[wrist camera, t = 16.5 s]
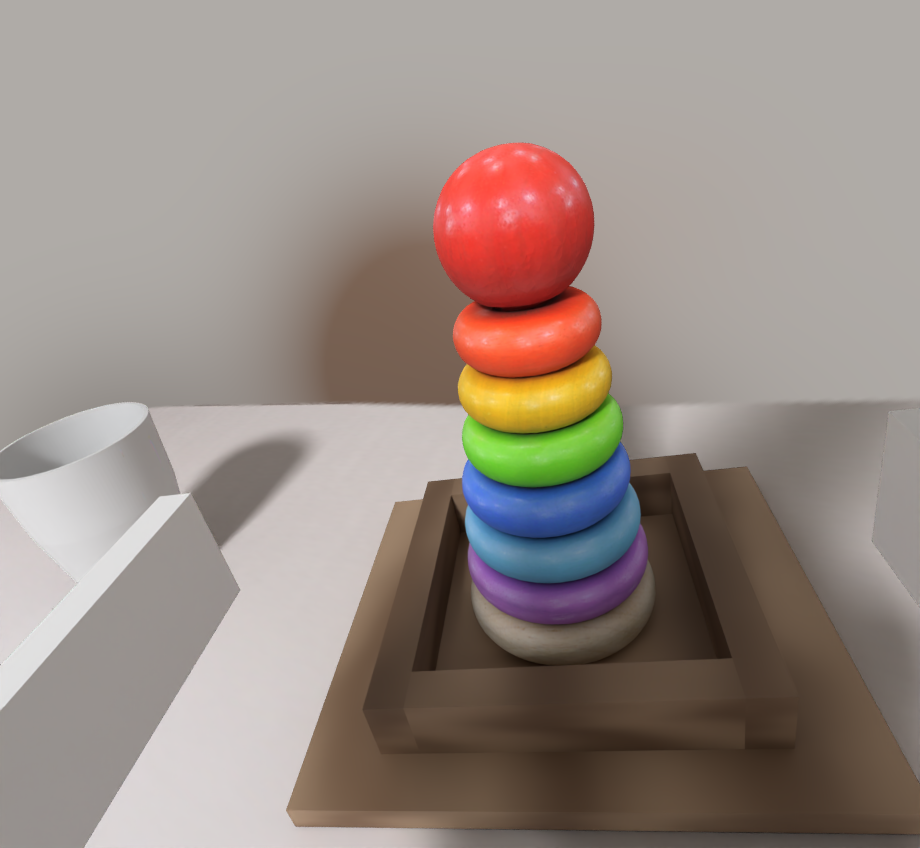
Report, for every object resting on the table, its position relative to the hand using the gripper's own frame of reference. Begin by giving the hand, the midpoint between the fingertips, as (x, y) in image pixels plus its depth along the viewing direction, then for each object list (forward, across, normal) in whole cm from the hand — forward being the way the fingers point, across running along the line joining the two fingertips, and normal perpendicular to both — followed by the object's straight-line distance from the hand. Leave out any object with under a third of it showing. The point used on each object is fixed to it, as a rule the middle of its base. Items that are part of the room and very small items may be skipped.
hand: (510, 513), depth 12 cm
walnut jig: (+10, 0, -14) cm, 17 cm away
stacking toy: (+10, 0, -13) cm, 17 cm away
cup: (+15, -25, -14) cm, 33 cm away
